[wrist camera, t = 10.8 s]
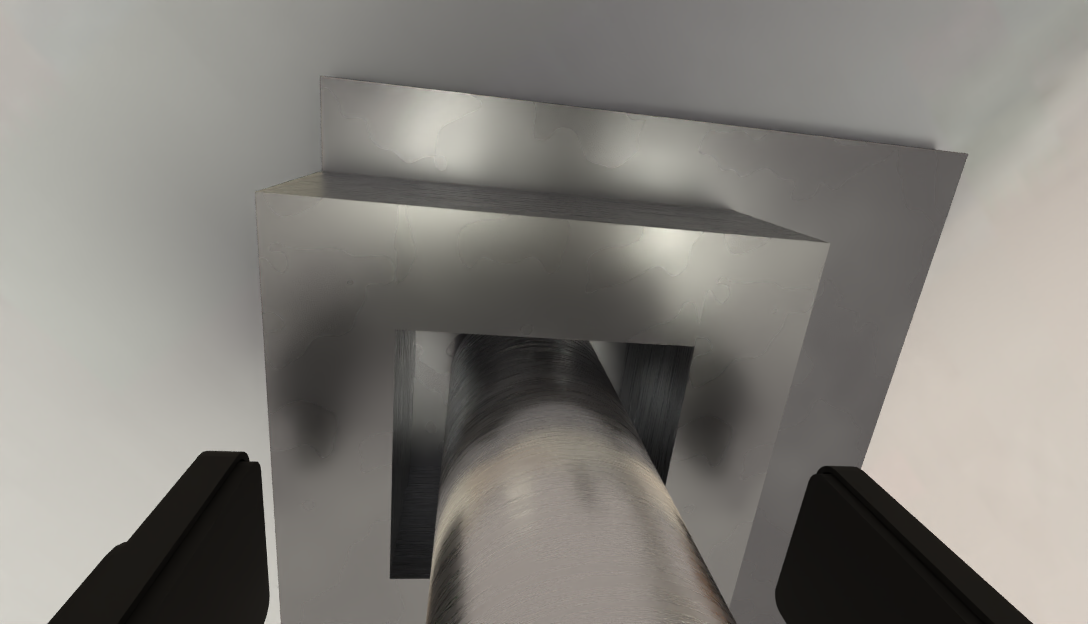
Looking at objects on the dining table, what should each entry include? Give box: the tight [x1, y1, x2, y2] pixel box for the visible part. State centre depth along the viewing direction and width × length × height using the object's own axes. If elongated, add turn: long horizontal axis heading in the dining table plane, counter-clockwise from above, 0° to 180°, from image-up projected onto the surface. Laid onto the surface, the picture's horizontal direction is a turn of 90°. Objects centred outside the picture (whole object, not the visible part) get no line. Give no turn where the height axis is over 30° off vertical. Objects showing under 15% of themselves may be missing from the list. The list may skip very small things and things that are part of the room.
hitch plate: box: [255, 76, 968, 624], centre depth 15 cm, size 22×16×5 cm
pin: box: [426, 334, 737, 624], centre depth 9 cm, size 4×4×11 cm
